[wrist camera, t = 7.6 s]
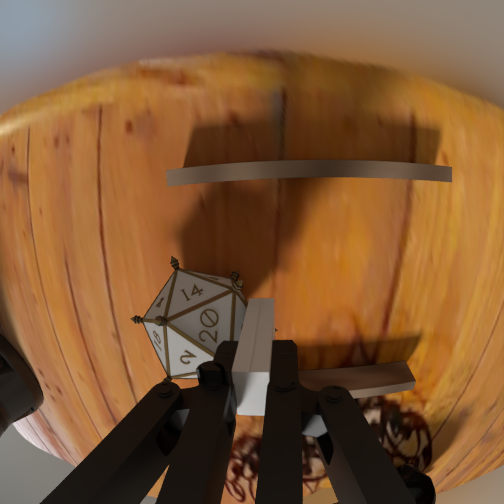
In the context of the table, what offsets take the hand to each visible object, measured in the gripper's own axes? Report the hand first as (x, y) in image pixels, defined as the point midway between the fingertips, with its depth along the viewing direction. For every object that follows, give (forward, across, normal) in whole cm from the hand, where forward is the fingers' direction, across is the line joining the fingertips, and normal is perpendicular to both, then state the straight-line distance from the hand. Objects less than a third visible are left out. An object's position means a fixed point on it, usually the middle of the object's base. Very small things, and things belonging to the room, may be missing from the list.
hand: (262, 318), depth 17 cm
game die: (+5, +4, +1) cm, 6 cm away
